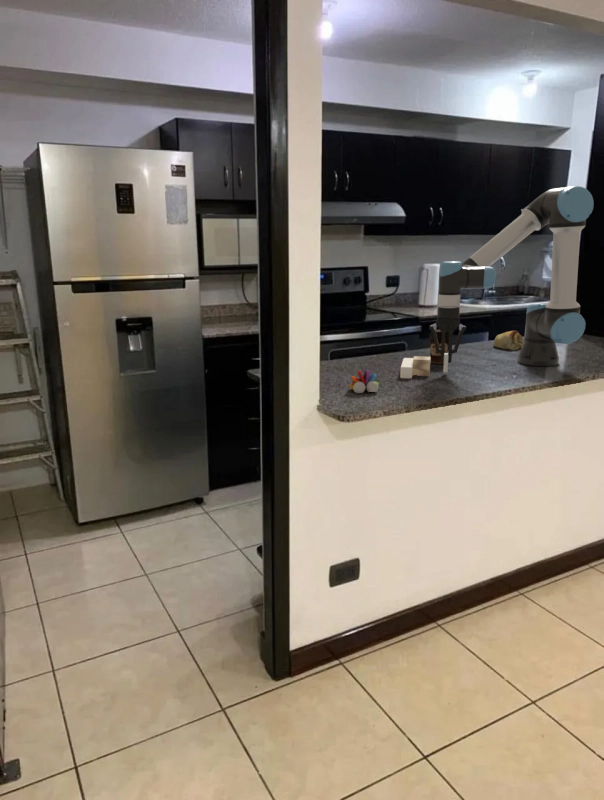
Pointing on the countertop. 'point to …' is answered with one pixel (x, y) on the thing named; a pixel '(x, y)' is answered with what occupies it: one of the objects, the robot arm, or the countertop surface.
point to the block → (421, 366)
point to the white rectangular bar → (406, 368)
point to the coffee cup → (435, 355)
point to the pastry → (509, 340)
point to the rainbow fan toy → (364, 382)
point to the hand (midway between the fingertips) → (445, 371)
